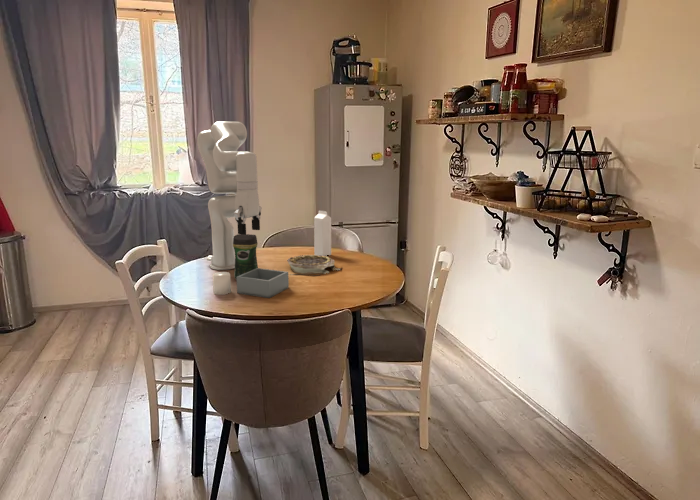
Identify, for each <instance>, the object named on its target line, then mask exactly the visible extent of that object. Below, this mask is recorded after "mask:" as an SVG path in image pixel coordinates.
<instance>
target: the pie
mask: <svg viewBox="0 0 700 500" xmlns="http://www.w3.org/2000/svg"><path fill="white" fill-rule="evenodd" d="M287 263H288V265H289V266H290V268H291V269H290V270H291V271H292V272H293V273H297V274H301V275H303V276H306V275H311V276H313V277H317V276H321V275H322V274H323V275H326V273H327V274H330V271H329V270H327V269H326V268H329V267H330V268H329V269H330V270H332V271H334V270H335V271H336V270H337V271H341V270H342V269H341V267H340V268H339V267H338V268H337V267H336V266H335V259H333V258H332V257H329V256H326V255H325V256H323V255H314V254H304V255H303V254H302V255H297V256H296V255H295V256H293V257H292V256H291V257H289V258H288V259H287ZM293 273H292V274H289V275H291V276H293V275H294V274H293ZM314 274H316V275H314Z"/></svg>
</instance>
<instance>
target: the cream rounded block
mask: <svg viewBox="0 0 700 500" xmlns="http://www.w3.org/2000/svg"><path fill="white" fill-rule="evenodd" d="M231 284H232V282H231V273H230V272H229V271H228V272H227V271H220V272H219V271H218V272H213V273H212V288H213V290H212V292H213V293H212V294H214V295H218V296H223V295H224V296H225V295H229V294H231V293H232V287H231V286H232V285H231ZM228 293H229V294H228Z"/></svg>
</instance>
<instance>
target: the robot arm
mask: <svg viewBox="0 0 700 500" xmlns="http://www.w3.org/2000/svg"><path fill="white" fill-rule="evenodd" d="M247 136H248V131H247V128H246V125H245V124H244V123H242V122H241V121H225V120H224V121H220V120H219V121H216V122H214V123H213V124H212V125H211V127H210V129H208V130H203V131H200V132H199V133H198V135H197V139H196V140H197V148H198V151H199V154H200V156H201V158H202V160H203V163H204V165H205V166H204V167H205V172H206V173H205V174H206V178H207V179H206V180H207V185H208V189H209V191H210V192H211V193H212V194H216V195H217V196H213V197H211V198H210V199H209V200H208V201H207V202H208V203H207V208H208V214H209V218H210V226H211V242H212V244H211V245H212V246H211V247H212V255H208V256H207V257H206V261H207V262H211V263H210V264H209V268H211V269H212V270H215V271H216V270H217V271H224V270H225V271H226V270H227V271H228V270H232V269H234V270H235V250H234V247H233V238H234V236H235V230H234V225H233V224H232V223H231V222H230V220H229V218H235V221H236V224H237V234H244V235H245V234H247V224H246V220H247V218H251V230H253V231H261V223H260V222H261V221H260V220H261V214H262V206H260V198H259V192H258V191H259V187H258V185H259V183H258V158H257V154H256V153H255V152H252V151H251V152H250V151H244V150H243V151H241V150H240V151H238V150H239V148H240V147H241V146H243V144H244V143H245V142H246V140H247ZM219 194H220V195H219ZM221 194H223V195H221ZM224 194H233V195H224Z"/></svg>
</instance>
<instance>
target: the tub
mask: <svg viewBox="0 0 700 500" xmlns="http://www.w3.org/2000/svg"><path fill="white" fill-rule="evenodd" d="M236 278H237V280H236V294H238V293H239V295H245V296H252V297H259V298H266V299H270V298H272V297H274V296H277V295H278V294H280V293H282V292H284V291H286V290H287V289H289V287H290V285H289V284H290V283H289V271H284V270H278V269H277V270H276V269H269V268H268V269H267V268H260V267H258V268H256V269H254V270H251V271H249V272H247V273H244V274H242V275H240V276H237V277H236Z"/></svg>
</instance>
